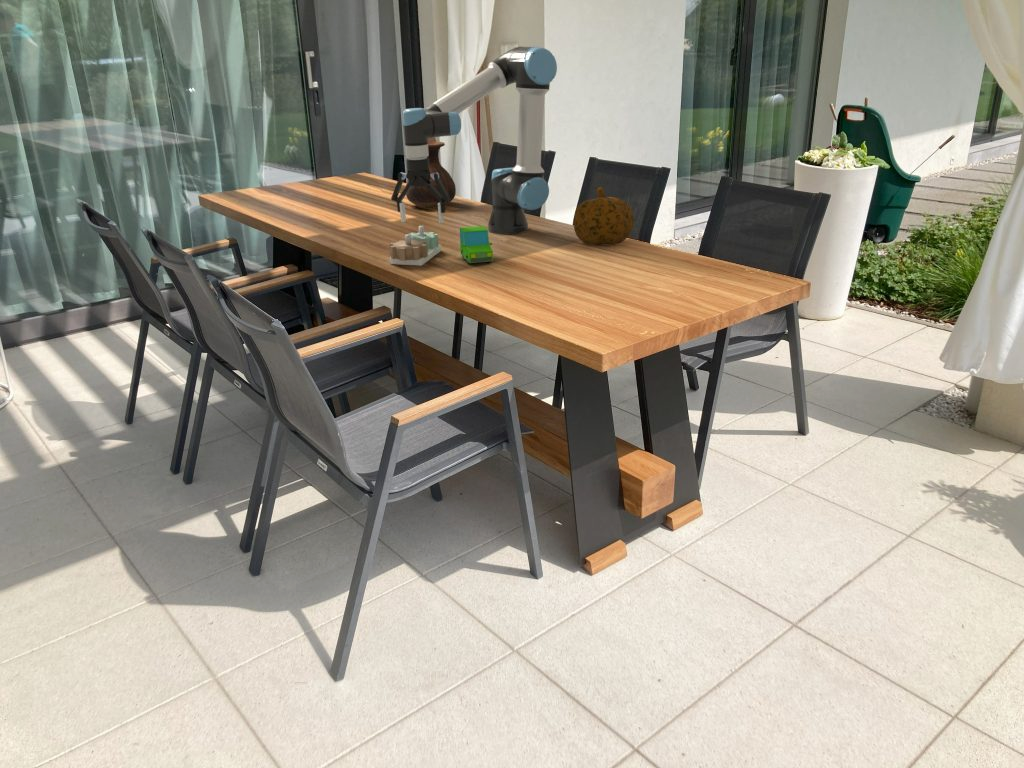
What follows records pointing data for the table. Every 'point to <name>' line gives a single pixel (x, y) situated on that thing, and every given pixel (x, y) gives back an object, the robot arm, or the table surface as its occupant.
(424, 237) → the loose gear
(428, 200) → the brown wooden bulbous vase
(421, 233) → the gear board
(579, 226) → the decorative pumpkin
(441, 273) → the table surface
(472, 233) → the toy car
